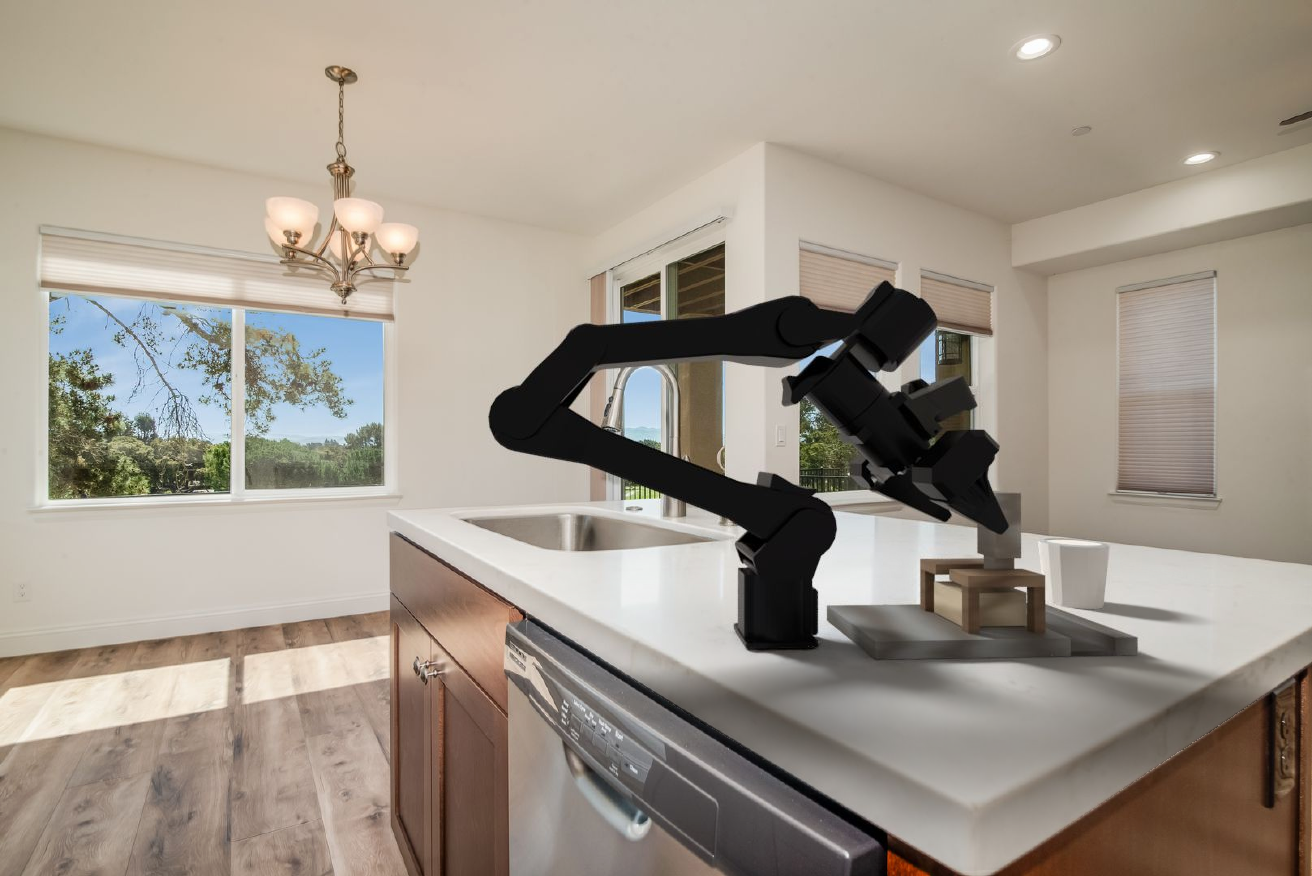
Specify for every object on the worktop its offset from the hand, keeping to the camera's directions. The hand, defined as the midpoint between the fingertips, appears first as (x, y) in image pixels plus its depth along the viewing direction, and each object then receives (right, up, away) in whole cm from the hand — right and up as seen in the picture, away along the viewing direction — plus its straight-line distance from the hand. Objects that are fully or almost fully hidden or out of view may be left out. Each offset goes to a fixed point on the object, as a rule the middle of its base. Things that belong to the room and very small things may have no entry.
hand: (974, 524), depth 59 cm
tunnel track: (-1, -10, 0) cm, 11 cm away
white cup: (+18, -11, +13) cm, 25 cm away
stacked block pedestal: (0, -9, 0) cm, 9 cm away
